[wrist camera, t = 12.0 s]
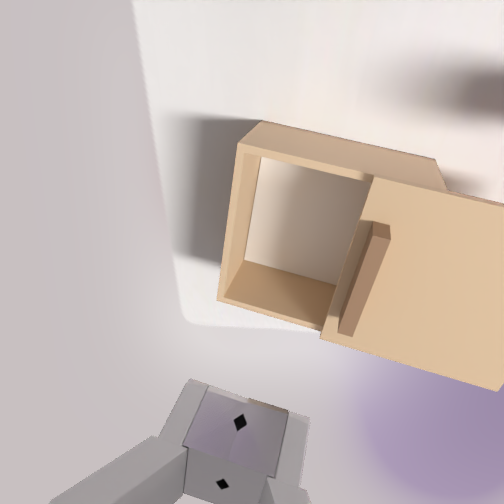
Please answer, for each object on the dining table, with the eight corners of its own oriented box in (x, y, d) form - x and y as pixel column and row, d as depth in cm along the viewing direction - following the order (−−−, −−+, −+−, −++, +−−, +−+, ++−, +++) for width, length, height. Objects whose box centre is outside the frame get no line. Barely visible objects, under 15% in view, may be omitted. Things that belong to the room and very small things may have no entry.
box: (261, 120, 47) (237, 142, 39) (435, 159, 44) (448, 192, 36) (239, 259, 58) (216, 300, 50) (377, 298, 55) (377, 348, 47)
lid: (374, 173, 37) (374, 188, 34) (609, 228, 34) (634, 251, 31) (320, 333, 48) (316, 357, 45) (494, 384, 45) (504, 414, 42)
